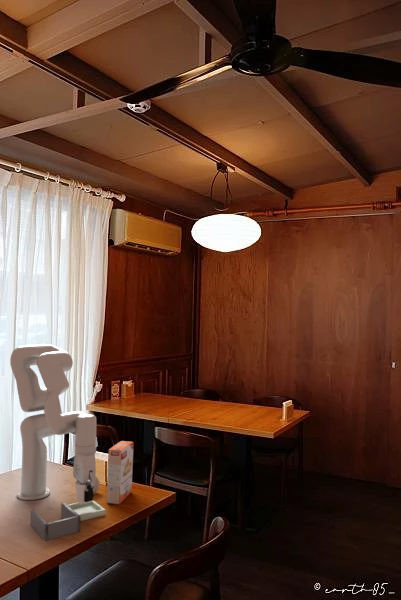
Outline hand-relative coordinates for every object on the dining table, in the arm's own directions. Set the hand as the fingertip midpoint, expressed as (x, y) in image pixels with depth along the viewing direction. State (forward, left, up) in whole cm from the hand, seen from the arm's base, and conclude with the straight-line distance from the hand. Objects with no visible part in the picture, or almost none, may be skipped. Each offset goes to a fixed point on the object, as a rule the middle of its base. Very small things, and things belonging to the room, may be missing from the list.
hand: (84, 497), depth 180 cm
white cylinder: (0, 0, -1) cm, 1 cm away
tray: (0, 0, -6) cm, 6 cm away
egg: (-16, +11, -6) cm, 20 cm away
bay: (+6, -13, -6) cm, 16 cm away
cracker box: (-6, +18, -6) cm, 20 cm away
